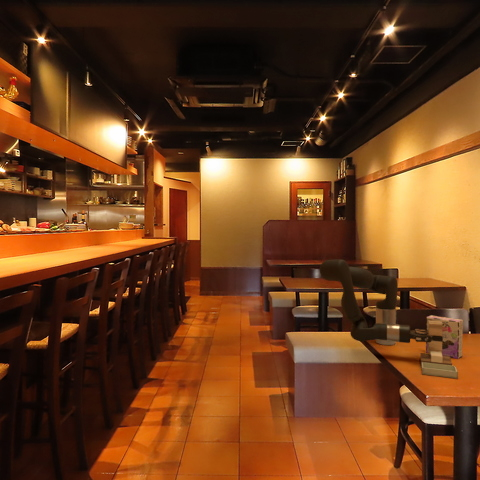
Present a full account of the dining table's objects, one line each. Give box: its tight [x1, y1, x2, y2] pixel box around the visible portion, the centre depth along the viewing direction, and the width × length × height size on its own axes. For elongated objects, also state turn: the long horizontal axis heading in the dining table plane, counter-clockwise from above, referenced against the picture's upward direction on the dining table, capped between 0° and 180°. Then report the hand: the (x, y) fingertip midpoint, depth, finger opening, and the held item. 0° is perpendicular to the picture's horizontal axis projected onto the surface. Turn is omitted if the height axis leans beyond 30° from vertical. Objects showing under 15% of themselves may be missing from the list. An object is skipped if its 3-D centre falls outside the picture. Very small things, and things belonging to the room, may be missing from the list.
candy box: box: [425, 315, 464, 360], centre depth 179 cm, size 14×6×16 cm, turn 44°
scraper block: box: [427, 321, 442, 354], centre depth 168 cm, size 5×5×13 cm
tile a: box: [430, 350, 442, 358], centre depth 164 cm, size 4×4×2 cm
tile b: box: [431, 353, 443, 363], centre depth 160 cm, size 4×4×2 cm
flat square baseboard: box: [420, 352, 453, 369], centre depth 163 cm, size 11×11×3 cm
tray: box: [421, 362, 459, 379], centre depth 154 cm, size 8×12×2 cm, turn 68°
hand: (441, 337), depth 167 cm, fingers closed on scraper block, 5 cm apart
